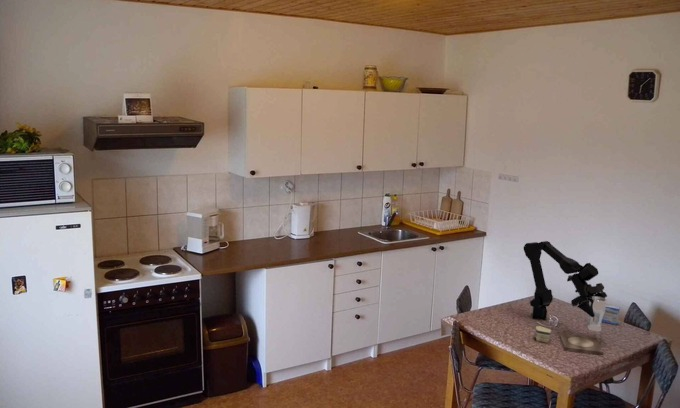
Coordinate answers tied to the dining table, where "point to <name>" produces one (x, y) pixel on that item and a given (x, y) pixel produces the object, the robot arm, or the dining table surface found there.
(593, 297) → the beer glass
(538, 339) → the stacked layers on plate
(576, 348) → the walnut board
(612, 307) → the medicine box
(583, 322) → the dining table surface
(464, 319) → the dining table surface
